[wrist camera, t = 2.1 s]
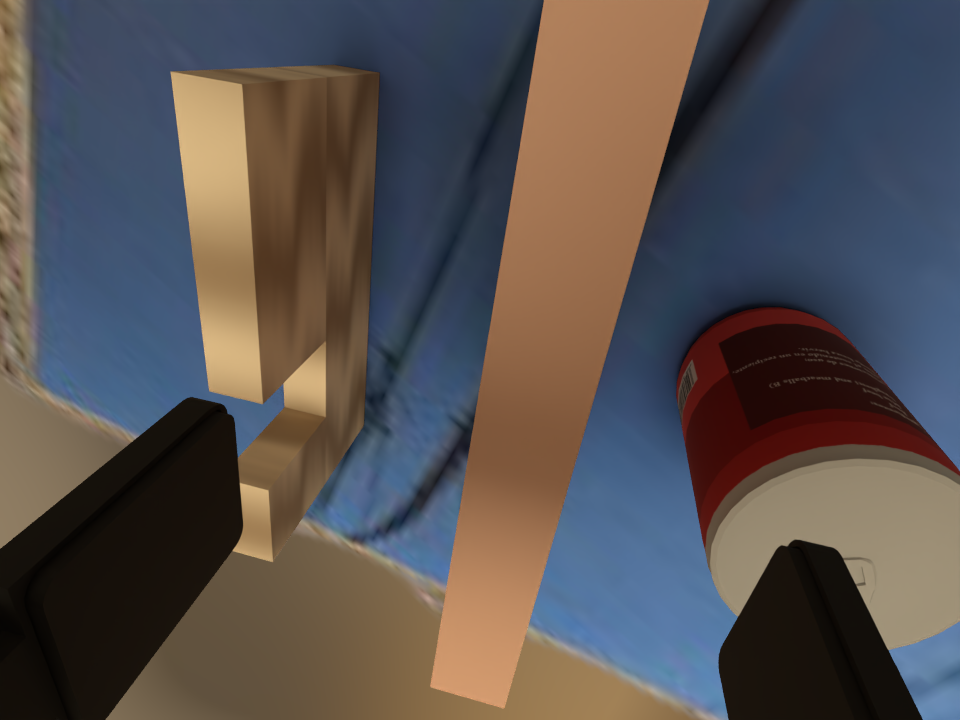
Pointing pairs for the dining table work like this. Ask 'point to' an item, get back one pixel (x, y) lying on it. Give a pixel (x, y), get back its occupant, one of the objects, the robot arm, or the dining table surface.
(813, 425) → the canned food
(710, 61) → the dining table surface
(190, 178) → the oak board
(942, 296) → the dining table surface
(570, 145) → the terracotta plate
